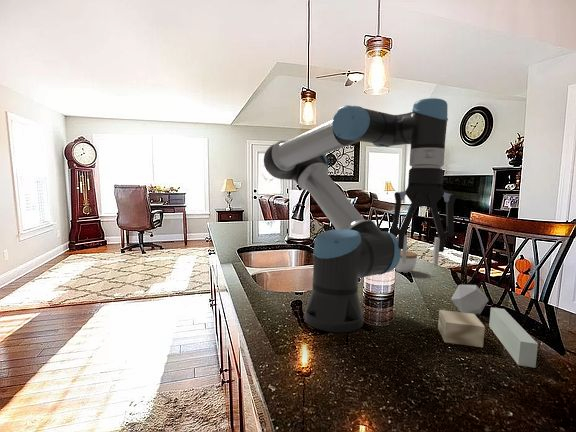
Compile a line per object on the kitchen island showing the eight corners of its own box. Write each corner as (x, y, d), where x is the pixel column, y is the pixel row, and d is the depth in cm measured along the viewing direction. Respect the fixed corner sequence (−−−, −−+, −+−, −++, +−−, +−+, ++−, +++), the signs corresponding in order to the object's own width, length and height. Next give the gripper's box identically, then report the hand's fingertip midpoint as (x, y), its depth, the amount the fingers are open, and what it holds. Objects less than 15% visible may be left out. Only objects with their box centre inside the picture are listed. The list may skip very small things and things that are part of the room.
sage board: (518, 365, 68) (520, 341, 67) (489, 326, 87) (490, 307, 86) (535, 367, 67) (538, 343, 66) (502, 327, 86) (504, 308, 85)
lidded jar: (391, 273, 137) (392, 250, 136) (387, 267, 148) (389, 246, 147) (418, 275, 135) (420, 252, 134) (413, 268, 146) (414, 247, 145)
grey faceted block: (484, 323, 90) (498, 292, 92) (455, 305, 91) (470, 275, 94) (468, 322, 98) (481, 293, 100) (441, 305, 99) (455, 278, 101)
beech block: (444, 343, 77) (446, 322, 76) (437, 328, 84) (439, 309, 84) (482, 348, 75) (484, 326, 74) (472, 333, 83) (474, 313, 82)
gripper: (383, 166, 78) (377, 263, 80) (476, 167, 72) (467, 271, 75) (383, 167, 85) (378, 256, 87) (467, 169, 80) (460, 264, 82)
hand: (419, 263), depth 81 cm, fingers open, 6 cm apart
